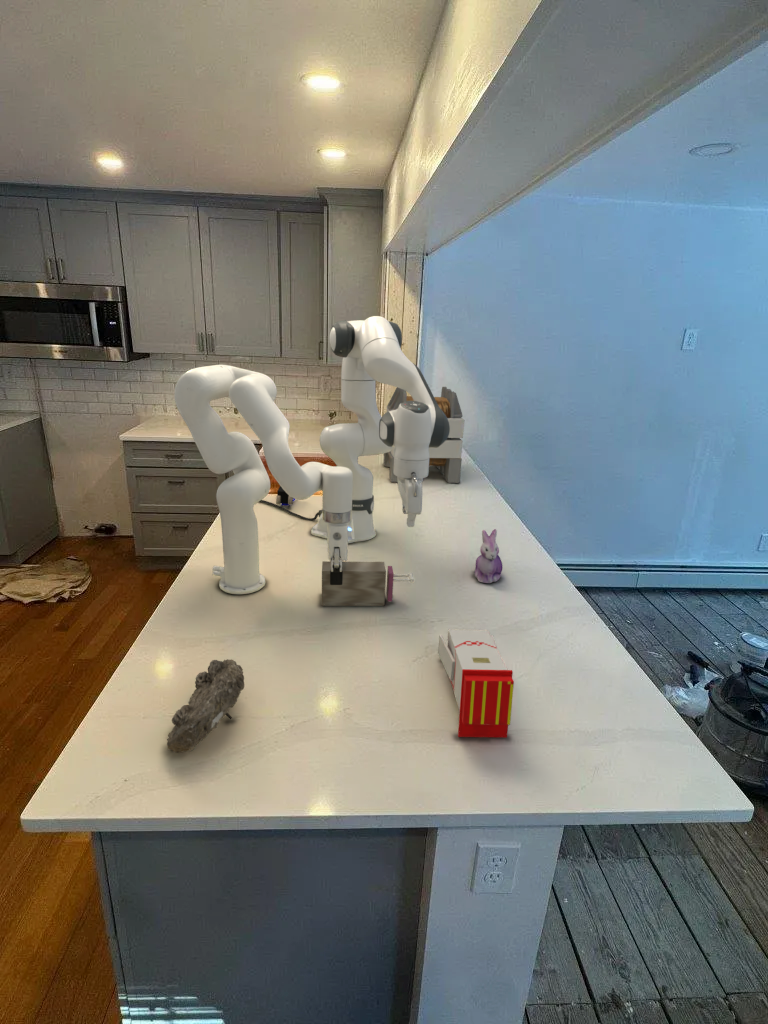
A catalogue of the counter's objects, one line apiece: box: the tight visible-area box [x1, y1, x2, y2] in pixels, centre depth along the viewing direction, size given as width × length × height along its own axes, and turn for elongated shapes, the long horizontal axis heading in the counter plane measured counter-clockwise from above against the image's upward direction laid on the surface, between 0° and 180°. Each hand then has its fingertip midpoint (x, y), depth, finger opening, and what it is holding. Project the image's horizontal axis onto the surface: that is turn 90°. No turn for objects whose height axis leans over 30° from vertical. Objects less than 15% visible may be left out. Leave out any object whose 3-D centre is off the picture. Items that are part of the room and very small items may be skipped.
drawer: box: [385, 565, 415, 602], centre depth 152 cm, size 21×5×8 cm, turn 95°
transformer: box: [383, 386, 465, 484], centre depth 268 cm, size 34×33×41 cm
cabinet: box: [321, 560, 387, 607], centre depth 152 cm, size 17×6×10 cm, turn 95°
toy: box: [437, 628, 515, 738], centre depth 117 cm, size 12×13×30 cm
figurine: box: [474, 528, 503, 584], centre depth 167 cm, size 9×10×15 cm
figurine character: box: [275, 485, 296, 509], centre depth 223 cm, size 7×8×15 cm
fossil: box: [166, 658, 245, 754], centre depth 106 cm, size 22×10×15 cm
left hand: (336, 578), depth 151 cm, fingers closed on cabinet, 6 cm apart
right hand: (408, 519), depth 147 cm, fingers open, 8 cm apart
